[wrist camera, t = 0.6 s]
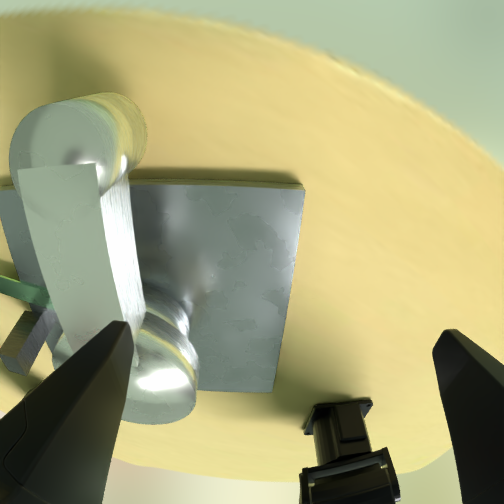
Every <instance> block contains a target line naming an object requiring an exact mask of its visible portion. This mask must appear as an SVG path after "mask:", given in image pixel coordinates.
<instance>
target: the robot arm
mask: <svg viewBox="0 0 504 504" xmlns="http://www.w3.org/2000/svg"><path fill="white" fill-rule="evenodd" d="M133 354H134V341H133V337H132V333H131V328H130V325H129V323H128V322H127V321H120V320H113V321H111V322H110V323H109V324H108V325H107V326H106V327H104V328H103V329H102V330H101V331H100V332H98V333H97V334H96V335H95V336H94V337H93V338H91V339H90V340H89V341H88V342H87V343H86V344H85V345H83V346H82V347H81V348H80V349H79V350H78V351H76V352H75V353H74V354H73V355H72V356H71V357H70V358H68V359H67V360H66V361H65V362H64V363H63V364H62V365H60V366H59V367H58V368H57V369H56V370H55V371H54V372H53V373H51V374H50V375H49V376H48V377H47V378H46V379H45V380H44V381H42V382H41V383H40V384H39V385H38V386H37V387H36V388H35V389H34V390H32V391H31V392H30V393H29V394H28V395H27V396H26V397H25V398H24V400H21V401H20V402H19V403H18V404H17V405H16V406H15V407H14V408H13V409H12V410H10V411H9V412H8V413H7V414H6V415H5V416H4V417H3V418H1V419H0V504H102V500H103V495H104V491H105V485H106V481H107V476H108V471H109V467H110V462H111V458H112V454H113V450H114V445H115V441H116V437H117V433H118V429H119V425H120V421H121V418H122V414H123V410H124V406H125V402H126V397H127V390H128V384H129V377H130V371H131V365H132V359H133ZM432 356H433V361H434V365H435V370H436V375H437V380H438V386H439V391H440V396H441V400H442V404H443V408H444V412H445V416H446V420H447V424H448V428H449V432H450V436H451V441H452V446H453V450H454V455H455V460H456V465H457V471H458V477H459V482H460V489H461V496H462V503H463V504H504V365H503V364H502V363H500V362H499V361H498V360H497V359H495V358H494V357H493V356H491V355H490V354H489V353H487V352H486V351H485V350H483V349H482V348H481V347H480V346H478V345H477V344H476V343H474V342H473V341H472V340H470V339H469V338H468V337H466V336H465V335H463V334H462V333H461V332H459V331H458V330H457V329H446V330H444V331H443V332H442V334H441V335H440V337H439V339H438V341H437V342H436V344H435V346H434V347H433V351H432ZM372 406H373V402H372V400H365V401H356V402H346V403H334V404H320V405H316V406H314V408H313V410H312V412H311V415H310V417H309V420H308V422H307V424H306V426H305V429H304V435H313V436H314V442H315V449H316V456H317V463H318V466H316V467H311V468H308V467H306V468H302V473H300V474H299V479H300V498H299V504H395V502H398V501H400V499H401V497H400V489H399V484H398V480H397V476H396V473H395V470H394V467H393V464H392V460H391V457H390V454H389V451H388V448H387V447H385V448H382V449H381V450H378V451H375V452H372V448H371V444H370V440H369V436H368V432H367V428H366V424H365V420H364V418H365V416H366V415H367V413H368V412H369V410H370V409H371V407H372ZM381 466H382V469H381Z"/></svg>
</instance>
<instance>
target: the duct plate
mask: <svg viewBox="0 0 504 504" xmlns="http://www.w3.org/2000/svg"><path fill="white" fill-rule="evenodd" d="M128 180H129V191H130V202H131V211H132V220H133V229H134V237H135V244H136V252H137V258H138V265H139V272H140V278H141V284H142V290H143V295H144V301H145V306H146V311H147V312H149V313H152V314H154V315H156V316H158V317H160V318H162V319H163V320H165V321H167V322H168V323H170V324H171V325H173V326H174V327H175V328H176V329H178V330H179V331H180V332H181V333H182V334H183V335H184V336H185V337H186V338H187V339H188V340H189V341H190V343H191V344H192V345H193V347H194V349H195V350H196V353H197V355H198V358H199V377H198V386H197V390H204V391H223V392H272V389H273V384H274V379H275V374H276V369H277V364H278V358H279V353H280V348H281V342H282V337H283V331H284V326H285V320H286V314H287V308H288V303H289V297H290V291H291V285H292V278H293V272H294V266H295V259H296V253H297V246H298V240H299V233H300V226H301V219H302V212H303V205H304V197H305V189H304V187H303V185H302V184H290V183H274V182H257V181H235V180H206V179H128ZM0 218H1V221H2V225H3V229H4V232H5V236H6V239H7V243H8V246H9V249H10V253H11V256H12V259H13V262H14V265H15V268H16V271H17V273H18V276H19V279H20V281H18V280H15V279H11V278H8V277H5V276H2V275H0V293H3V294H5V295H8V296H11V297H14V298H17V299H20V300H23V301H26V302H29V305H30V307H31V309H32V312H30V311H24V313H23V314H22V316H21V317H20V319H19V320H18V322H17V323H16V325H15V326H14V328H13V329H12V331H11V332H10V334H9V336H8V337H7V339H6V341H5V342H4V344H3V345H2V347H1V349H0V358H1V359H2V361H3V362H4V364H5V366H6V367H7V369H8V370H9V371H12V372H15V373H18V374H22V375H25V376H27V374H28V372H29V370H30V368H31V366H32V364H33V363H34V361H35V359H36V357H37V355H38V353H39V351H40V349H41V347H42V345H43V344H44V342H45V340H46V342H47V344H48V346H49V348H50V350H51V352H52V354H53V351H54V348H55V346H56V344H57V343H58V341H59V339H60V337H61V335H62V333H63V329H62V326H61V324H60V321H59V319H58V317H57V314H56V311H55V309H54V306H53V304H52V301H51V298H50V295H49V293H48V290H47V287H46V284H45V281H44V278H43V275H42V272H41V269H40V266H39V262H38V259H37V256H36V252H35V249H34V245H33V242H32V238H31V234H30V230H29V226H28V222H27V218H26V214H25V209H24V205H23V201H22V199H21V198H20V196H19V194H18V193H17V191H16V189H15V186H14V185H6V186H2V187H0Z"/></svg>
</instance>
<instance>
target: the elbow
mask: <svg viewBox="0 0 504 504" xmlns="http://www.w3.org/2000/svg"><path fill="white" fill-rule="evenodd" d="M146 145H147V127H146V122H145V120H144V117H143V115H142V113H141V111H140V110H139V108H138V107H137V106H136V105H135V104H134V103H133V102H132V101H131V100H130V99H128V98H127V97H125V96H123V95H120V94H117V93H112V92H103V93H97V94H92V95H87V96H82V97H77V98H73V99H68V100H64V101H60V102H55V103H51V104H48V105H44V106H41V107H38V108H36V109H34V110H33V111H31V112H30V113H29V114H28V115H27V116H25V117H24V119H23V120H22V121H21V122H20V124H19V125H18V127H17V128H16V131H15V133H14V135H13V138H12V141H11V145H10V151H9V167H10V173H11V178H12V181H13V184H14V186H15V189H16V191H17V193H18V194H19V196H20V198H21V199H22V201H23V205H24V209H25V214H26V218H27V222H28V226H29V230H30V234H31V238H32V242H33V245H34V249H35V252H36V256H37V259H38V262H39V266H40V269H41V272H42V275H43V278H44V281H45V284H46V287H47V290H48V293H49V295H50V298H51V301H52V304H53V306H54V309H55V311H56V314H57V317H58V319H59V321H60V324H61V326H62V329H63V333H62V335H61V337H60V339H59V341H58V343H57V344H56V346H55V348H54V351H53V354H52V362H53V366H54V369H55V370H56V369H57V368H58V367H59V366H60V365H62V364H63V363H64V362H65V361H66V360H67V359H68V358H70V357H71V356H72V355H73V354H74V353H75V352H76V351H78V350H79V349H80V348H81V347H82V346H83V345H85V344H86V343H87V342H88V341H89V340H90V339H91V338H93V337H94V336H95V335H96V334H97V333H98V332H100V331H101V330H102V329H103V328H104V327H106V326H107V325H108V324H109V323H110V322H111V321H113V320H120V321H127V322H128V323H129V325H130V328H131V333H132V337H133V341H134V354H133V359H132V365H131V371H130V377H129V384H128V390H127V397H126V402H125V406H124V410H123V414H122V418H121V420H124V421H128V422H133V423H139V424H151V425H155V424H167V423H172V422H175V421H178V420H180V419H182V418H184V417H186V416H187V415H189V414H190V413H191V411H192V410H193V408H194V407H195V403H196V395H197V386H198V377H199V358H198V355H197V353H196V350H195V349H194V347H193V345H192V344H191V343H190V341H189V340H188V339H187V338H186V337H185V336H184V335H183V334H182V333H181V332H180V331H179V330H178V329H176V328H175V327H174V326H173V325H171V324H170V323H168V322H167V321H165V320H163V319H162V318H160V317H158V316H156V315H154V314H152V313H149V312H147V311H146V306H145V301H144V295H143V290H142V284H141V278H140V272H139V265H138V258H137V252H136V244H135V237H134V229H133V220H132V211H131V202H130V191H129V180H128V174H129V173H130V172H131V171H132V170H133V169H134V168H135V167H136V166H137V165H138V164H139V162H140V161H141V159H142V157H143V155H144V152H145V149H146Z"/></svg>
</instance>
